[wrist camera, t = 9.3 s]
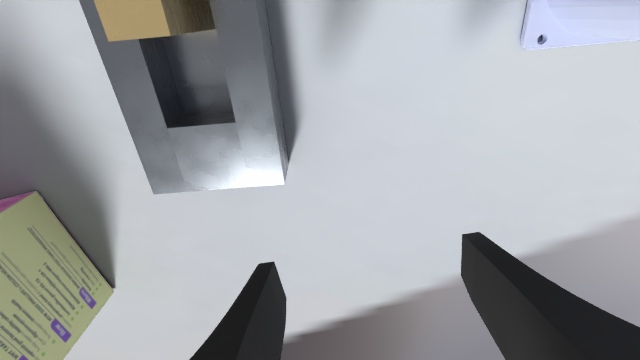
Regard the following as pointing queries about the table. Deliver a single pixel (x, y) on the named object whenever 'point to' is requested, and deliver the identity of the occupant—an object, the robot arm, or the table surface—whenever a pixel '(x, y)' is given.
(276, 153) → the block
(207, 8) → the clip
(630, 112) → the table surface
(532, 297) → the robot arm
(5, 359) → the box
